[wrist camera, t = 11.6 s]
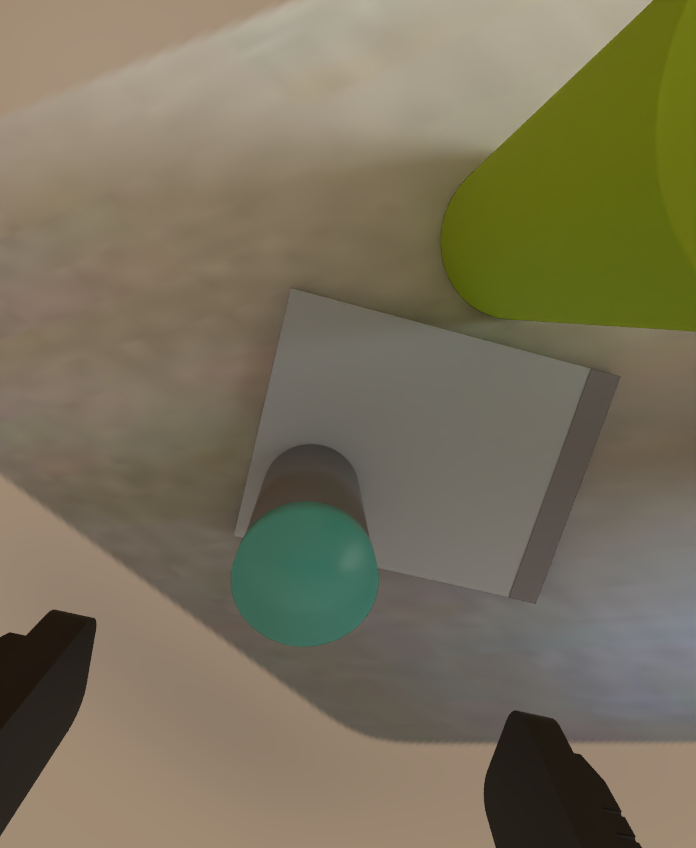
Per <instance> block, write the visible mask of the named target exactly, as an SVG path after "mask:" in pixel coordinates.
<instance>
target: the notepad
mask: <svg viewBox="0 0 696 848" xmlns="http://www.w3.org/2000/svg"><path fill="white" fill-rule="evenodd" d="M619 379H620V376H617V375H613V374H609V373H605V372H602V371H598V370H594V369H591V368H587V367H583V366H579V365H576V364H572V363H568V362H564V361H561V360H557V359H553V358H550V357H546V356H542V355H538V354H535V353H531V352H527V351H524V350H520V349H516V348H512V347H509V346H505V345H501V344H498V343H494V342H490V341H486V340H483V339H479V338H475V337H471V336H468V335H464V334H460V333H457V332H453V331H449V330H445V329H442V328H438V327H434V326H431V325H427V324H423V323H419V322H416V321H412V320H408V319H405V318H401V317H397V316H393V315H390V314H386V313H382V312H378V311H375V310H371V309H367V308H364V307H360V306H356V305H352V304H349V303H345V302H341V301H338V300H334V299H330V298H326V297H323V296H319V295H315V294H311V293H308V292H304V291H300V290H297V289H293V288H291V290H290V294H289V298H288V303H287V307H286V311H285V316H284V320H283V324H282V329H281V333H280V337H279V342H278V346H277V350H276V355H275V359H274V363H273V368H272V372H271V377H270V381H269V385H268V390H267V394H266V398H265V403H264V407H263V411H262V416H261V420H260V424H259V429H258V433H257V437H256V442H255V446H254V450H253V455H252V459H251V463H250V468H249V472H248V476H247V481H246V485H245V490H244V494H243V498H242V503H241V507H240V511H239V516H238V520H237V524H236V529H235V533H234V536H237V537H242V538H243V537H244V535H245V533H246V531H247V528H248V525H249V522H250V519H251V516H252V513H253V510H254V507H255V504H256V501H257V499H258V496H259V493H260V490H261V487H262V484H263V481H264V478H265V475H266V473H267V470H268V469H269V467H270V465H271V464H272V462H273V461H274V460H275V459H276V458H277V457H278V456H279V455H280V454H282V453H283V452H285V451H286V450H288V449H290V448H293V447H296V446H299V445H304V444H318V445H323V446H327V447H329V448H332V449H334V450H336V451H337V452H339V453H340V454H342V455H343V456H344V457H345V458H346V459H347V460H348V461H349V462H350V463H351V465H352V467H353V468H354V470H355V472H356V475H357V478H358V482H359V487H360V492H361V497H362V502H363V507H364V512H365V517H366V522H367V527H368V532H369V537H370V541H371V543H372V546H373V549H374V553H375V557H376V562H377V567H378V568H380V569H385V570H389V571H394V572H398V573H403V574H407V575H412V576H416V577H420V578H425V579H429V580H434V581H438V582H443V583H447V584H452V585H456V586H461V587H465V588H470V589H474V590H479V591H483V592H488V593H492V594H497V595H501V596H505V597H509V598H512V599H517V600H521V601H526V602H530V603H535V604H536V601H537V599H538V596H539V593H540V591H541V588H542V585H543V583H544V580H545V577H546V575H547V572H548V569H549V567H550V564H551V561H552V559H553V556H554V553H555V551H556V548H557V545H558V542H559V540H560V537H561V534H562V532H563V529H564V526H565V524H566V521H567V518H568V516H569V513H570V510H571V508H572V505H573V502H574V500H575V497H576V494H577V492H578V489H579V486H580V484H581V481H582V478H583V476H584V473H585V470H586V468H587V465H588V462H589V460H590V457H591V454H592V452H593V449H594V446H595V444H596V441H597V438H598V436H599V433H600V430H601V427H602V425H603V422H604V419H605V417H606V414H607V411H608V409H609V406H610V403H611V401H612V398H613V395H614V393H615V390H616V387H617V385H618V382H619Z"/></svg>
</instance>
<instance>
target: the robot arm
mask: <svg viewBox="0 0 696 848" xmlns="http://www.w3.org/2000/svg"><path fill="white" fill-rule="evenodd" d="M95 632H96V620H95V618H91V617H86V616H81V615H77V614H72V613H68V612H63V611H59V610H51V611H50V612H49V613H48V614H46V615H45V616H44V617H43V619H41V621H40V622H39V623H38V624H37V625H36V626H35V627H34V628H33V629H32V630H31V631H30V632H29V633H28V634H27V635H26V636H24V635H20V634H15V633H10V632H9V633H7V634H6V635H4V636H2V637H0V836H1V834H2V832H3V831H4V829H5V828H6V826H7V825H8V823H9V822H10V820H11V818H12V817H13V815H14V814H15V812H16V811H17V809H18V807H19V806H20V804H21V803H22V801H23V800H24V798H25V797H26V795H27V794H28V792H29V791H30V789H31V787H32V786H33V784H34V783H35V781H36V780H37V778H38V777H39V775H40V773H41V772H42V770H43V769H44V767H45V766H46V764H47V763H48V761H49V759H50V758H51V756H52V755H53V753H54V752H55V750H56V749H57V747H58V746H59V744H60V742H61V741H62V739H63V738H64V736H65V735H66V733H67V732H68V730H69V728H70V727H71V725H72V723H73V721H74V719H75V717H76V715H77V713H78V711H79V708H80V706H81V703H82V700H83V696H84V694H85V690H86V684H87V678H88V673H89V667H90V661H91V655H92V650H93V644H94V638H95ZM484 804H485V811H486V815H487V818H488V822H489V825H490V829H491V832H492V836H493V839H494V843H495V846H496V848H642V847H641V846H640V844H639V843H637V842H636V841H635V835H634V833H633V831H632V829H631V828H630V826H629V824H628V822H627V820H626V819H625V817H622V816H621V810H620V808H619V806H618V804H617V802H616V801H615V799H614V797H613V795H612V793H611V792H610V790H609V788H608V786H607V785H606V783H605V781H604V780H603V779H602V778H601V777H600V776H599V774H598V773H597V772H596V771H595V770H594V769H593V768H592V767H591V766H590V764H589V763H588V762H587V761H586V760H585V759H584V758H583V757H582V756H581V755H580V754H575V753H573V751H572V749H571V747H570V745H569V743H568V741H567V739H566V737H565V735H564V733H563V731H562V730H561V728H560V726H559V724H558V723H557V722H556V720H554V719H552V718H548V717H544V716H539V715H534V714H530V713H525V712H520V711H513V712H511V713H510V715H509V716H508V718H507V721H506V723H505V726H504V728H503V731H502V734H501V736H500V739H499V742H498V744H497V747H496V750H495V752H494V755H493V757H492V760H491V762H490V766H489V768H488V770H487V774H486V777H485V783H484Z"/></svg>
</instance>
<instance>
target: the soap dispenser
mask: <svg viewBox="0 0 696 848" xmlns="http://www.w3.org/2000/svg"><path fill="white" fill-rule="evenodd" d="M441 254H442V260H443V264H444V267H445V270H446V273H447V275H448V278H449V280H450V281H451V283H452V285H453V287H454V288H455V289H456V291H457V292H458V293H459V295H460V296H461V297H462V298H463V299H464V300H465V301H466V302H467V303H469V304H470V305H471V306H473V307H474V308H476V309H477V310H479V311H481V312H483V313H485V314H487V315H490V316H493V317H497V318H502V319H511V320H527V321H542V322H558V323H573V324H589V325H604V326H620V327H635V328H651V329H666V330H682V331H696V0H653V1H652V2H651V3H650V4H649V5H648V6H647V7H646V8H645V9H644V10H643V11H642V12H641V13H640V14H639V15H638V16H637V17H636V18H634V19H633V20H632V21H631V22H630V23H629V24H628V25H627V26H626V27H625V28H624V29H623V30H622V31H621V32H620V33H619V34H618V35H617V36H616V37H614V38H613V39H612V40H611V41H610V42H609V43H608V44H607V45H606V46H605V47H604V48H603V49H602V50H601V51H600V52H599V53H598V54H597V55H596V56H594V57H593V58H592V59H591V60H590V61H589V62H588V63H587V64H586V65H585V66H584V67H583V68H582V69H581V70H580V71H579V72H578V73H577V74H576V75H574V76H573V77H572V78H571V79H570V80H569V81H568V82H567V83H566V84H565V85H564V86H563V87H562V88H561V89H560V90H559V91H558V92H557V93H556V94H555V95H553V96H552V97H551V98H550V99H549V100H548V101H547V102H546V103H545V104H544V105H543V106H542V107H541V108H540V109H539V110H538V111H537V112H536V113H535V114H533V115H532V116H531V117H530V118H529V119H528V120H527V121H526V122H525V123H524V124H523V125H522V126H521V127H520V128H519V129H518V130H517V131H516V132H515V133H513V134H512V135H511V136H510V137H509V138H508V139H507V140H506V141H505V142H504V143H503V144H502V145H501V146H500V147H499V148H498V149H497V150H496V151H495V152H493V153H492V154H491V155H490V156H489V157H488V158H487V159H486V160H485V161H484V162H483V163H482V164H481V165H480V166H479V167H478V168H477V169H476V170H475V171H474V172H472V173H471V174H470V175H469V176H468V177H467V178H466V179H465V180H464V182H463V183H462V184H461V185H460V187H459V188H458V189H457V191H456V192H455V194H454V195H453V197H452V199H451V201H450V203H449V205H448V208H447V210H446V213H445V216H444V220H443V224H442V230H441Z"/></svg>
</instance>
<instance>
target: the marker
mask: <svg viewBox="0 0 696 848" xmlns="http://www.w3.org/2000/svg"><path fill="white" fill-rule="evenodd" d="M378 584H379V574H378V567H377V562H376V557H375V553H374V549H373V546H372V543H371V541H370V537H369V532H368V527H367V522H366V517H365V512H364V507H363V502H362V497H361V492H360V487H359V482H358V478H357V475H356V472H355V470H354V468H353V467H352V465H351V463H350V462H349V461H348V460H347V459H346V458H345V457H344V456H343V455H342V454H340V453H339V452H337V451H336V450H334V449H332V448H329V447H327V446H323V445H318V444H304V445H299V446H296V447H293V448H290V449H288V450H286V451H285V452H283V453H282V454H280V455H279V456H278V457H277V458H276V459H275V460H274V461H273V462H272V464H271V465H270V467H269V469H268V470H267V473H266V475H265V478H264V481H263V484H262V487H261V490H260V493H259V496H258V499H257V501H256V504H255V507H254V510H253V513H252V516H251V519H250V522H249V525H248V528H247V531H246V533H245V535H244V537H243V539H242V541H241V543H240V546H239V548H238V551H237V554H236V557H235V560H234V563H233V567H232V572H231V588H232V594H233V598H234V601H235V603H236V606H237V608H238V610H239V611H240V613H241V615H242V616H243V617H244V619H245V620H246V621H247V622H248V623H249V624H250V625H251V626H252V627H253V628H254V629H255V630H256V631H258V632H259V633H260V634H262V635H264V636H265V637H267V638H269V639H271V640H274V641H276V642H279V643H282V644H286V645H291V646H302V647H306V646H317V645H323V644H326V643H330V642H332V641H335V640H337V639H340V638H341V637H343V636H345V635H347V634H348V633H350V632H351V631H352V630H354V629H355V628H356V627H357V626H358V625H359V624H360V623H361V622H362V621H363V620H364V618H365V617H366V616H367V615H368V613H369V611H370V610H371V608H372V606H373V604H374V601H375V599H376V595H377V591H378Z"/></svg>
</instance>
